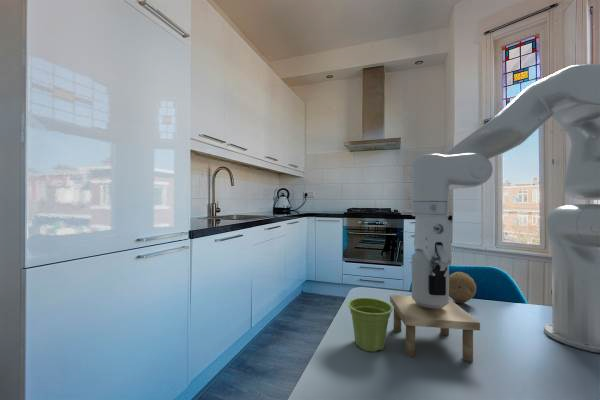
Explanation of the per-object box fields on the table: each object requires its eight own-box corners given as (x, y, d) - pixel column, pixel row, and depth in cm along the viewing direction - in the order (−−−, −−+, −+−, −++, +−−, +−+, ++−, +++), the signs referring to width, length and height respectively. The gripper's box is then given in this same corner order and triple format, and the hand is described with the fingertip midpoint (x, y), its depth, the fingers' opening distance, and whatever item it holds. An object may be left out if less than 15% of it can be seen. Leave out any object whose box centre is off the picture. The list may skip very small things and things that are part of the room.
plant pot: (391, 361, 52) (392, 316, 52) (343, 351, 55) (344, 309, 56) (392, 339, 61) (393, 300, 61) (351, 331, 64) (351, 295, 64)
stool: (448, 331, 65) (448, 298, 66) (479, 364, 52) (479, 322, 52) (389, 327, 67) (390, 295, 67) (404, 358, 53) (405, 317, 53)
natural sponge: (478, 311, 79) (479, 277, 79) (444, 305, 83) (444, 273, 83) (474, 301, 87) (474, 270, 87) (443, 297, 91) (443, 267, 91)
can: (454, 311, 55) (454, 253, 55) (415, 308, 57) (415, 251, 57) (442, 299, 62) (442, 247, 63) (408, 296, 64) (408, 246, 64)
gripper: (467, 210, 51) (467, 303, 51) (432, 209, 68) (433, 279, 68) (426, 210, 52) (426, 301, 51) (402, 209, 69) (402, 277, 69)
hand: (429, 288), depth 60 cm, fingers closed on can, 7 cm apart
